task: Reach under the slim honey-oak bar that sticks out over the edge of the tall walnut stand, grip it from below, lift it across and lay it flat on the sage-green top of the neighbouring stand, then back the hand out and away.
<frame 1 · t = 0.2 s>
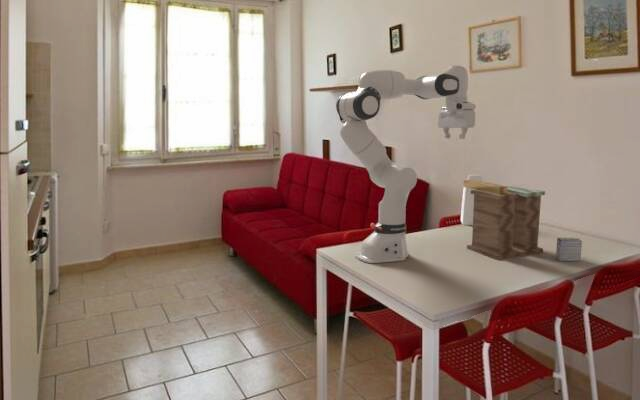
hand: (454, 138, 203), 48 cm above the table, tool pointing down, fingers open, 8 cm apart
twin stand: (504, 250, 204), on the table
medicine box: (567, 260, 190), on the table
oak bar: (484, 190, 202), point 26 cm above the table, touching twin stand
milk: (473, 223, 255), on the table
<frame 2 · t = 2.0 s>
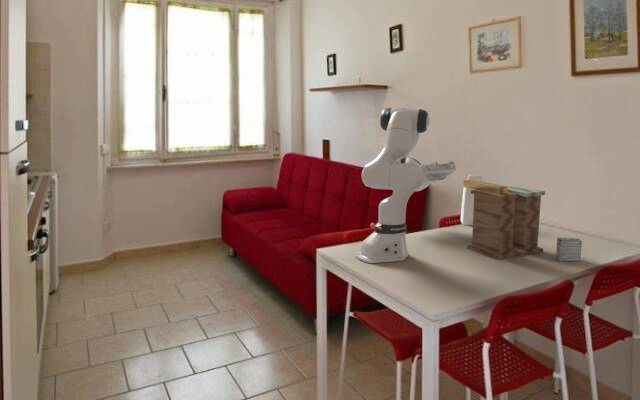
hand: (444, 163, 226), 35 cm above the table, tool pointing upward, fingers open, 8 cm apart
nothing on the table moved.
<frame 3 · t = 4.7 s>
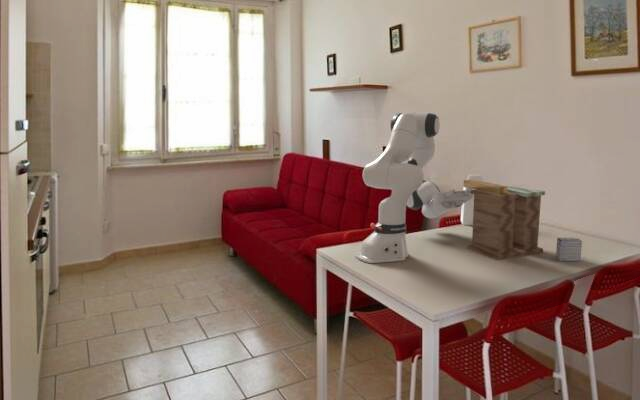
hand: (462, 190, 215), 24 cm above the table, tool pointing upward, fingers open, 8 cm apart
nothing on the table moved.
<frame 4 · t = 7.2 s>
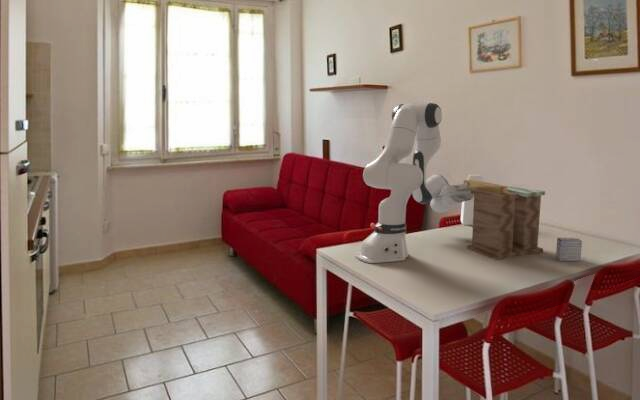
hand: (472, 183, 208), 28 cm above the table, tool pointing upward, fingers closed on oak bar, 4 cm apart
oak bar: (484, 190, 202), point 26 cm above the table, touching gripper, twin stand
everything else where it was.
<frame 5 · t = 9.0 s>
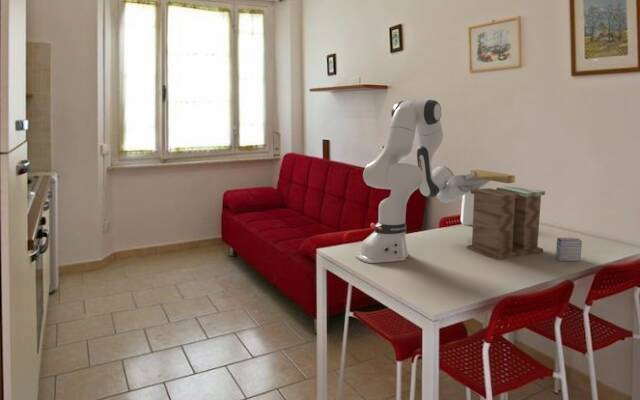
hand: (480, 173, 209), 32 cm above the table, tool pointing upward, fingers closed on oak bar, 4 cm apart
oak bar: (491, 179, 203), point 30 cm above the table, touching gripper
everything else where it was.
when the fingers open (29 cm above the table, at t = 11.1 s): oak bar drops 1 cm, resting on twin stand.
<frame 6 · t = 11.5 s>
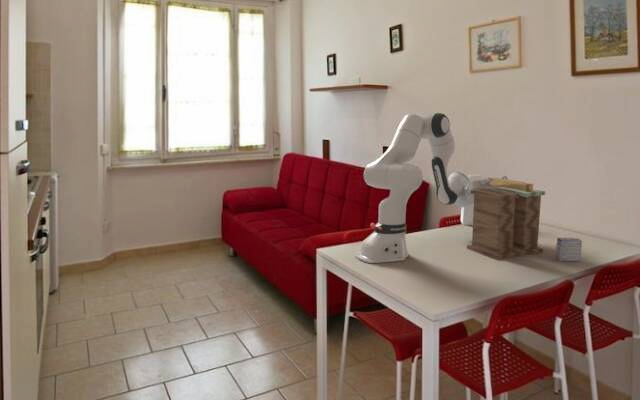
hand: (497, 178, 213), 29 cm above the table, tool pointing upward, fingers open, 8 cm apart
oak bar: (509, 187, 207), point 26 cm above the table, touching twin stand
everything else where it was.
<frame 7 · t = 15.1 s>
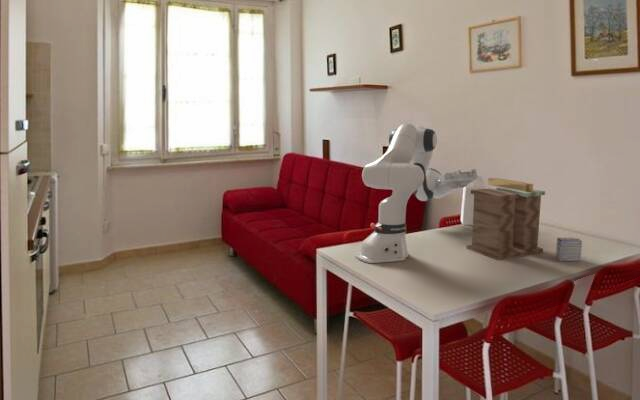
hand: (467, 171, 232), 30 cm above the table, tool pointing upward, fingers open, 8 cm apart
nothing on the table moved.
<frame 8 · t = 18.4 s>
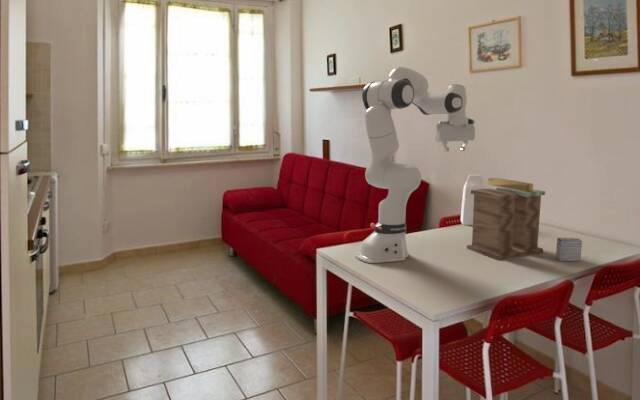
hand: (454, 150, 221), 41 cm above the table, tool pointing down, fingers open, 8 cm apart
nothing on the table moved.
at the end: oak bar inside the target area (0.1 cm from its centre), point 26.0 cm above the table; oak bar tilted 0°; the gripper is holding nothing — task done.
